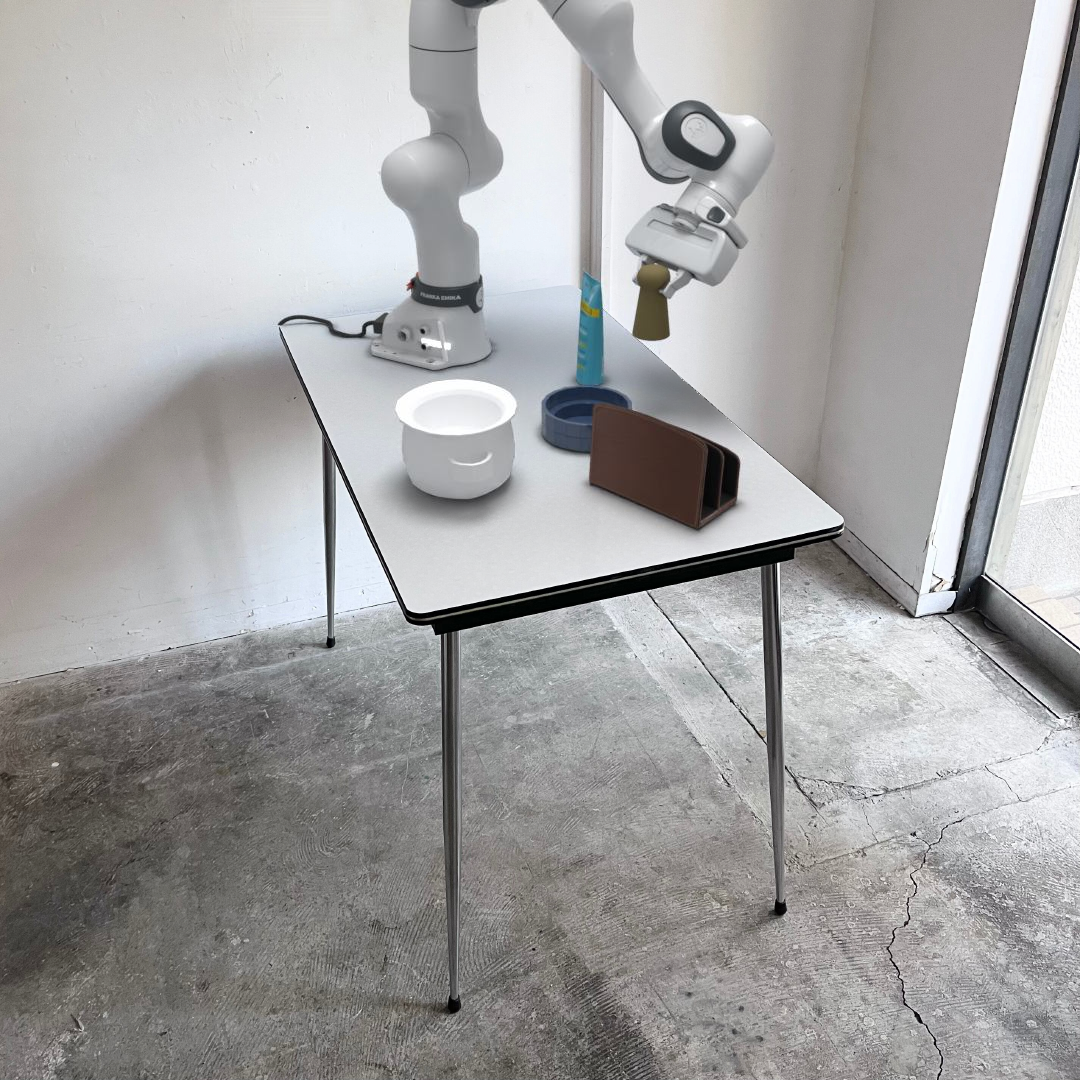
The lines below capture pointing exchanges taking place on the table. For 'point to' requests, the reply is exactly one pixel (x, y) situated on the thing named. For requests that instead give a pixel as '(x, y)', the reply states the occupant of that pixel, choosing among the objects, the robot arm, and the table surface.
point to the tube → (590, 333)
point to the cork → (652, 304)
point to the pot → (457, 437)
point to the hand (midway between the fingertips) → (650, 290)
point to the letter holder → (661, 465)
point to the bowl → (576, 414)
